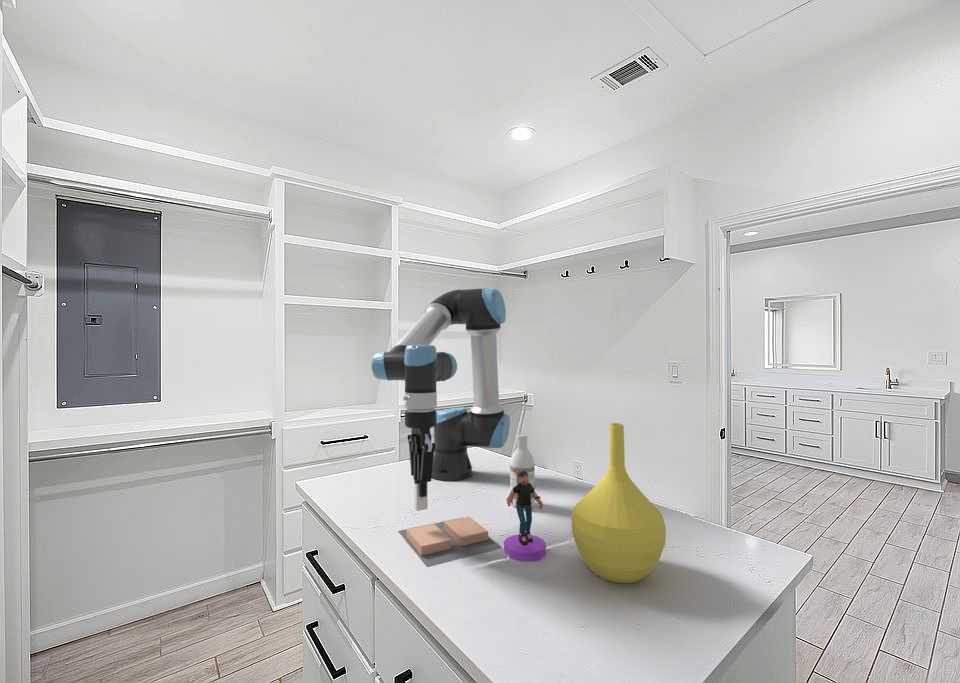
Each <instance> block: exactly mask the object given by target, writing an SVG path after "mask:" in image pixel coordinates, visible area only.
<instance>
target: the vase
mask: <svg viewBox="0 0 960 683" xmlns="http://www.w3.org/2000/svg"><path fill="white" fill-rule="evenodd" d="M624 427H625V426H624V424H623V423H619V422H611V423H610V424H609V448H608V449H609V456H608V457H609V463H608V464H609V465H608V467H607V468H608V469H607V470H606V473H605V475H604V476H603V477H602V478H601V479H600V480H599V481H598V482H597V483H596V485H594V487H592V489H591V490H590V491H589V492H588V493H587V494H585V495H584V496H583V497H582V498H581V499H580V500H579V501H578V502H577V503H576V504H575V505H574V507H573V510H572V515H571V534H572V535H573V539H574V542H575V545H576V548H577V551H578V553H579V555H580V556H581V558H582V559H583V562H585V564H586V565H587V567H588V568H589V569H590V570H592V572H593V573H594V574H596V575H597V577H600V578H602V579H604V580H605V581H610V582H614V583H619V584H620V583H621V584H628V583H629V584H632V583H636V582H639V581H641V580H642V579H644V578H645V577H647V576H648V575H649V574H650V573H651V572H652V571H653V569H655V567H656V565H658V563H659V561H660V559H661V556H662V553H663V550H664V548H665V545H666V541H667V540H666V532H667V531H666V530H667V529H666V528H667V527H666V524H665V518H664V516H663V514H662V512H661V511H660V510H659V509H658V508H657V507H656V506H655V505H654V503H652V502H651V500H649V498H647V497H646V496H645V494H644V493H643V492H642V491H641V490H640V488H638V486H637V485H636V484H635V483H634V481H633V480H632V479H631V478H630V475H629V474H628V472H627V470H626V465H625V464H626V463H625V460H626V458H625V454H626V453H625V433H624V432H625V431H624V430H625V429H624Z"/></svg>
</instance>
